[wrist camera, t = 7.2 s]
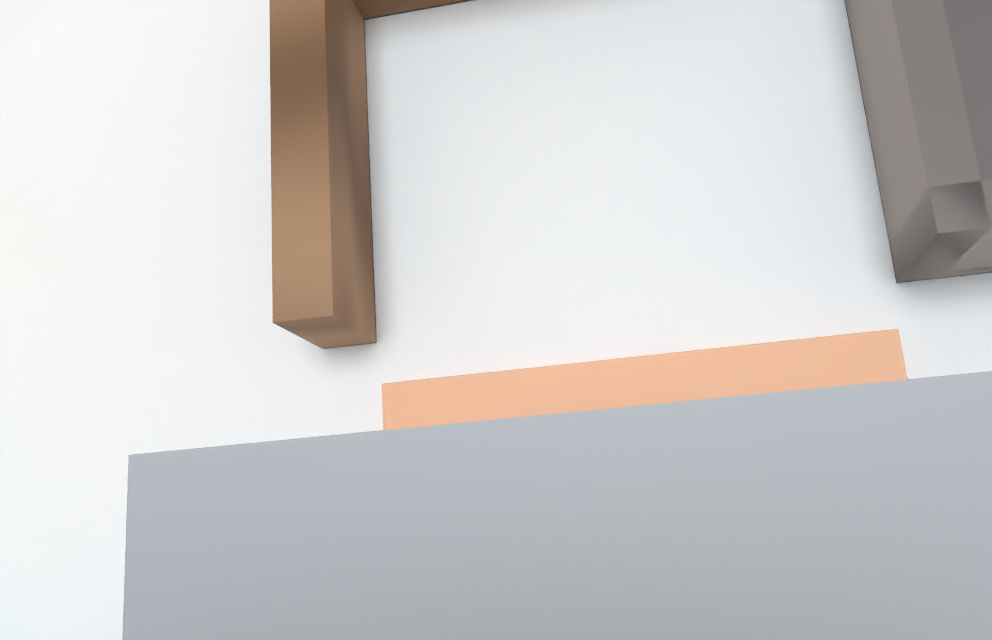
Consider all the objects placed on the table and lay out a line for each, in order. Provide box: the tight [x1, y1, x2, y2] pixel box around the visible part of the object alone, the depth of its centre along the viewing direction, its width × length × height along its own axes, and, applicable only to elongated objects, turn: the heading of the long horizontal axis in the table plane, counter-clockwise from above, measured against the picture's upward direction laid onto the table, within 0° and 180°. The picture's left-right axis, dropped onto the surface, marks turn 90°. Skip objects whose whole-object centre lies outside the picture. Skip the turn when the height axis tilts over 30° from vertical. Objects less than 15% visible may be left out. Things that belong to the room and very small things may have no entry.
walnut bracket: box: [270, 0, 467, 349], centre depth 18 cm, size 9×10×4 cm
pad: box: [382, 329, 907, 430], centre depth 17 cm, size 10×10×1 cm
